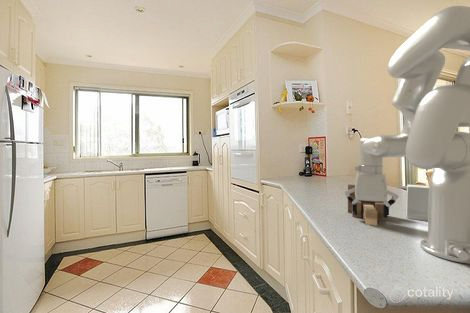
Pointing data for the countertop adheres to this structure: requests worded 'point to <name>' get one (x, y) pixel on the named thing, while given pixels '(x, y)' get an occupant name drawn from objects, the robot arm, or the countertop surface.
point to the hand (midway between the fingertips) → (369, 215)
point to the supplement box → (417, 202)
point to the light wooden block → (369, 214)
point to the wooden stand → (377, 205)
